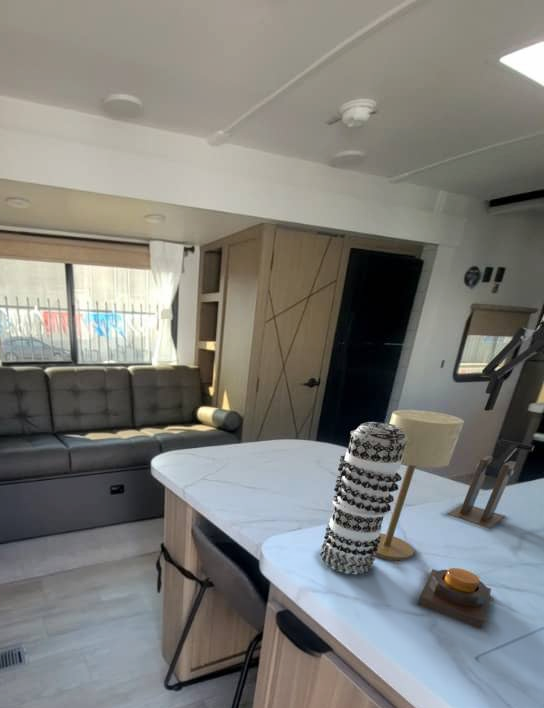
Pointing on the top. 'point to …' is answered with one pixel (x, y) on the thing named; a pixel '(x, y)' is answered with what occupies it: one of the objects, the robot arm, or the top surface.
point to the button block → (455, 600)
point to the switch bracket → (488, 515)
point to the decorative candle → (363, 496)
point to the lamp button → (461, 579)
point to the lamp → (418, 464)
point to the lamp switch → (505, 457)
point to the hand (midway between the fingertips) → (526, 416)
